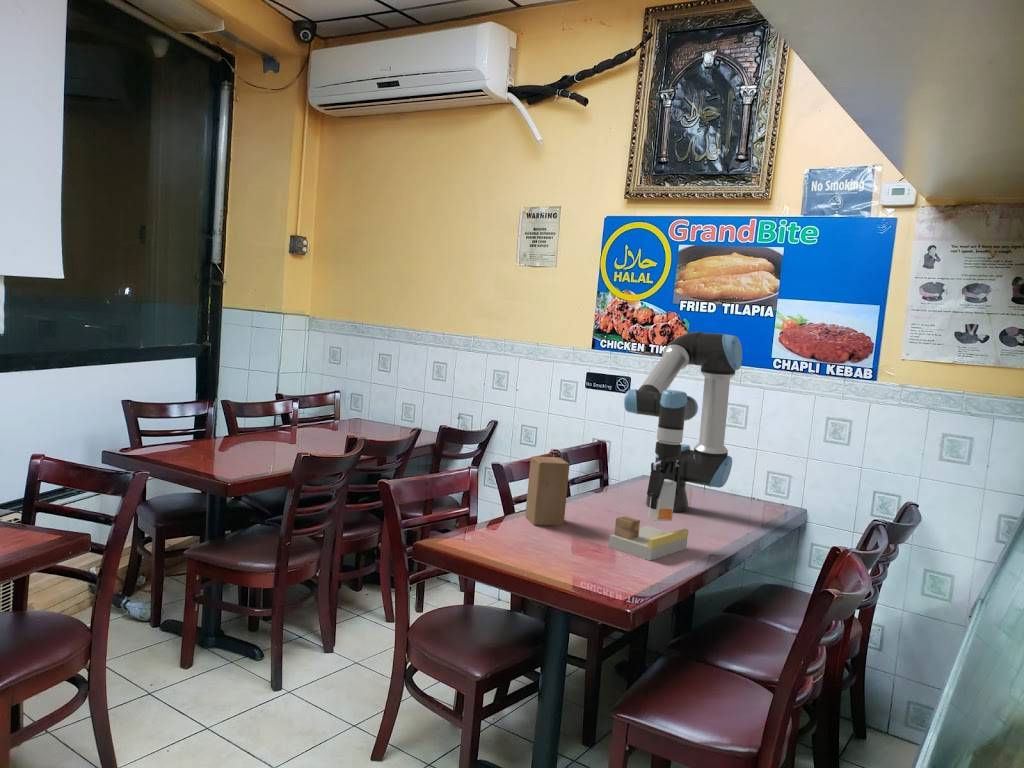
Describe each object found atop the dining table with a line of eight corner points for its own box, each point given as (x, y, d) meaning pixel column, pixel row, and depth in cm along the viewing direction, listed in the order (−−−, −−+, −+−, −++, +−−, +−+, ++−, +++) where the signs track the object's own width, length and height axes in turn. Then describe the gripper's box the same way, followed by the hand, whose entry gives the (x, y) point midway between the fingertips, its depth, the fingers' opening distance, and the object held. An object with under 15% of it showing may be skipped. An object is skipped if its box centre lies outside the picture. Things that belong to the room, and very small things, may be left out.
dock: (646, 536, 234) (648, 518, 234) (686, 549, 225) (688, 529, 224) (608, 547, 219) (610, 527, 219) (649, 560, 210) (652, 540, 210)
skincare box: (654, 521, 224) (658, 481, 223) (647, 517, 228) (652, 478, 227) (672, 521, 226) (677, 482, 225) (666, 517, 230) (670, 478, 229)
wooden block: (533, 525, 235) (539, 462, 233) (524, 516, 245) (530, 455, 243) (564, 526, 238) (570, 463, 236) (553, 517, 247) (559, 457, 246)
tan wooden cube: (624, 532, 224) (625, 515, 223) (638, 536, 220) (640, 520, 220) (614, 535, 220) (616, 518, 219) (628, 539, 217) (630, 522, 216)
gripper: (675, 438, 235) (667, 510, 237) (639, 441, 220) (631, 518, 222) (696, 442, 230) (688, 516, 232) (662, 446, 215) (653, 525, 217)
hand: (660, 517), depth 227 cm, fingers closed on skincare box, 7 cm apart
